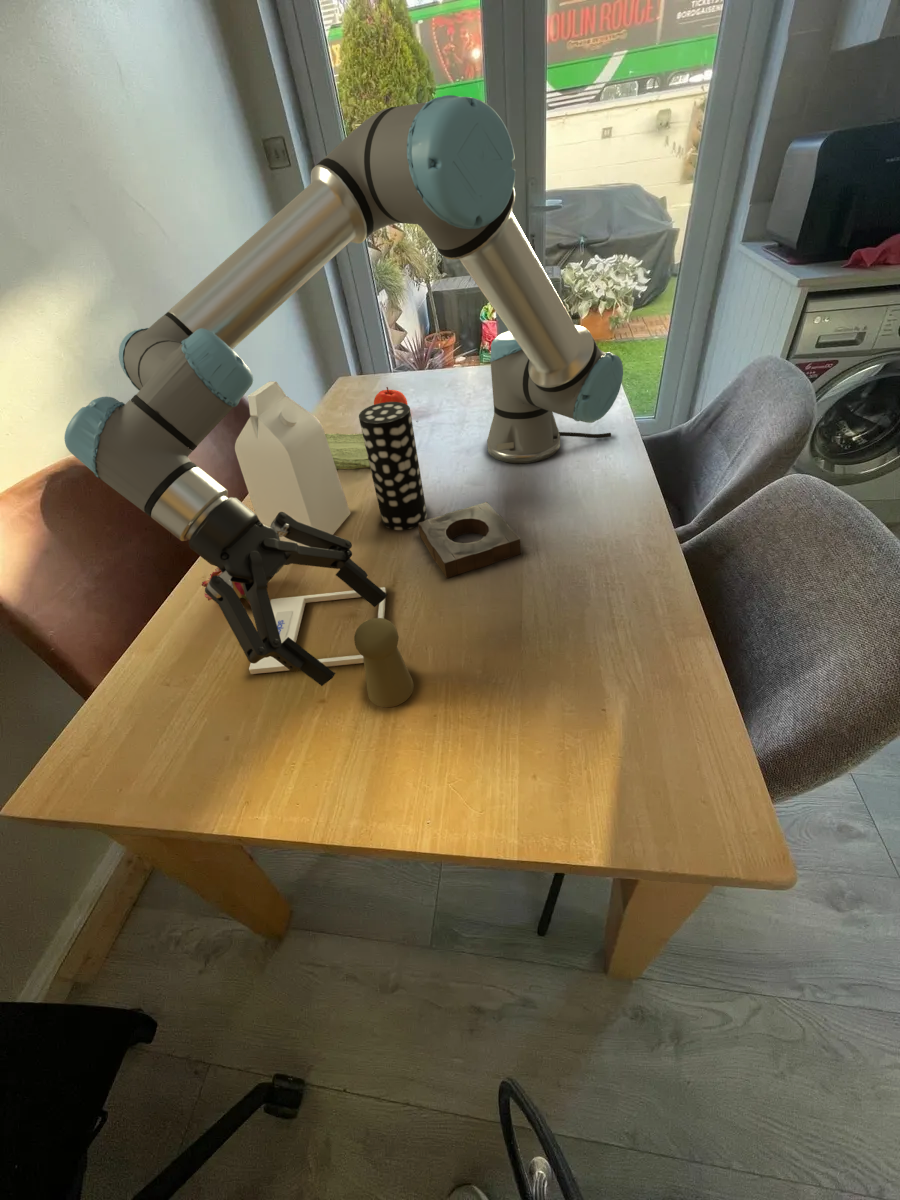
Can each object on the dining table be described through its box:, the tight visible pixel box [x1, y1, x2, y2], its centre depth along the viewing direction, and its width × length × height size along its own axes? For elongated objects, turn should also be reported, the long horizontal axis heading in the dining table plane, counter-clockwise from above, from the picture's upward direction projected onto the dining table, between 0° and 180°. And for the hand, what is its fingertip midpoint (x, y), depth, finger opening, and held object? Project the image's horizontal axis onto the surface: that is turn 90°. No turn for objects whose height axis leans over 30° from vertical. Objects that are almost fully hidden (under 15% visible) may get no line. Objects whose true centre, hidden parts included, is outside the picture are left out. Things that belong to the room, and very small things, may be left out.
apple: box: [373, 386, 409, 406], centre depth 133 cm, size 8×8×8 cm
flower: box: [201, 566, 251, 607], centre depth 86 cm, size 10×9×8 cm
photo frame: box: [248, 586, 387, 675], centre depth 80 cm, size 15×1×18 cm
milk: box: [234, 380, 351, 547], centre depth 94 cm, size 12×12×26 cm
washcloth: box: [325, 432, 370, 470], centre depth 122 cm, size 13×18×3 cm
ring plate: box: [417, 501, 522, 579], centre depth 92 cm, size 13×13×3 cm
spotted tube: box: [358, 402, 428, 531], centre depth 95 cm, size 8×8×20 cm
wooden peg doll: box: [353, 617, 415, 708], centre depth 67 cm, size 6×6×11 cm
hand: (356, 638), depth 66 cm, fingers open, 13 cm apart
